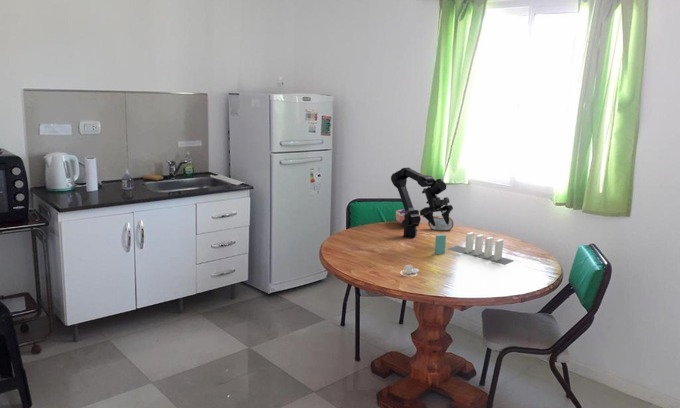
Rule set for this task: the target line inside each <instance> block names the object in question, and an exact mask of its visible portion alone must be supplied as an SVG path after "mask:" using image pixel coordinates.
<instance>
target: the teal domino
mask: <svg viewBox="0 0 680 408" xmlns="http://www.w3.org/2000/svg"><path fill="white" fill-rule="evenodd" d="M446 241H447V234H437V235H435V242H434V243H435V244H434V254H436V255H438V254H439V255H440V254H445V253H446V243H447V242H446Z"/></svg>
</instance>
